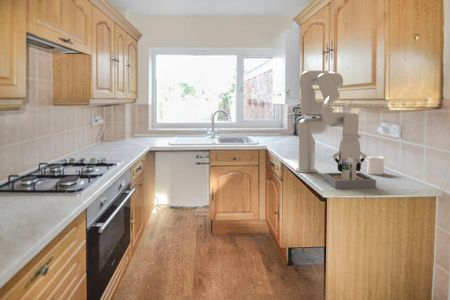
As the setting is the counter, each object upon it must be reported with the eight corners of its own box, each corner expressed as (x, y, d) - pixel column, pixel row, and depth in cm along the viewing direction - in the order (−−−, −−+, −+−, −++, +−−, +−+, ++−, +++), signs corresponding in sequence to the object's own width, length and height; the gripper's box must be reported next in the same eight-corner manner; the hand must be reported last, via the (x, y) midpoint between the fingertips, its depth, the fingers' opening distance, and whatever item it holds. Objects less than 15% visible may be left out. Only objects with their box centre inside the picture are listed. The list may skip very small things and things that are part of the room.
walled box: (324, 180, 220) (324, 172, 219) (360, 179, 220) (361, 172, 220) (335, 188, 200) (335, 180, 199) (375, 187, 201) (375, 179, 200)
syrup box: (340, 184, 210) (341, 156, 209) (346, 182, 215) (347, 154, 213) (350, 185, 206) (351, 157, 205) (356, 183, 210) (357, 155, 209)
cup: (370, 175, 234) (371, 158, 232) (363, 172, 244) (364, 155, 242) (386, 175, 234) (387, 158, 233) (379, 171, 244) (380, 155, 243)
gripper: (364, 136, 211) (363, 169, 213) (331, 137, 211) (330, 170, 213) (369, 138, 204) (368, 172, 206) (335, 138, 203) (334, 172, 205)
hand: (349, 171), depth 209 cm, fingers open, 9 cm apart
